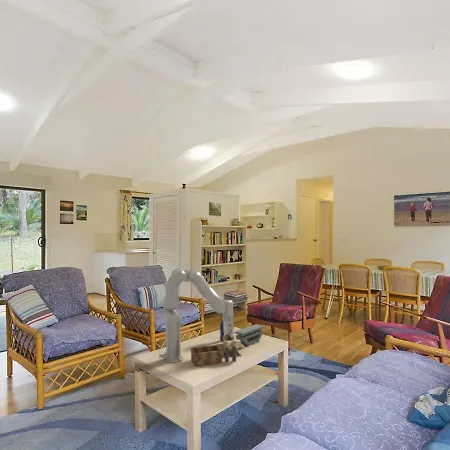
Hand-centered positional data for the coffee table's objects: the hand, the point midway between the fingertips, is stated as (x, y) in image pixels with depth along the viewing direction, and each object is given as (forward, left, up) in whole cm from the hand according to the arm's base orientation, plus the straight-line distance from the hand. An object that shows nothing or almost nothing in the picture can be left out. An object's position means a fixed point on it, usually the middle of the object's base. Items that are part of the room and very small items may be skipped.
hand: (228, 343), depth 239 cm
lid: (0, -3, -2) cm, 3 cm away
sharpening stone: (+21, +12, -6) cm, 25 cm away
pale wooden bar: (-3, -17, +4) cm, 18 cm away
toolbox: (-14, -13, -6) cm, 20 cm away
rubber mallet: (+3, +24, -6) cm, 25 cm away
